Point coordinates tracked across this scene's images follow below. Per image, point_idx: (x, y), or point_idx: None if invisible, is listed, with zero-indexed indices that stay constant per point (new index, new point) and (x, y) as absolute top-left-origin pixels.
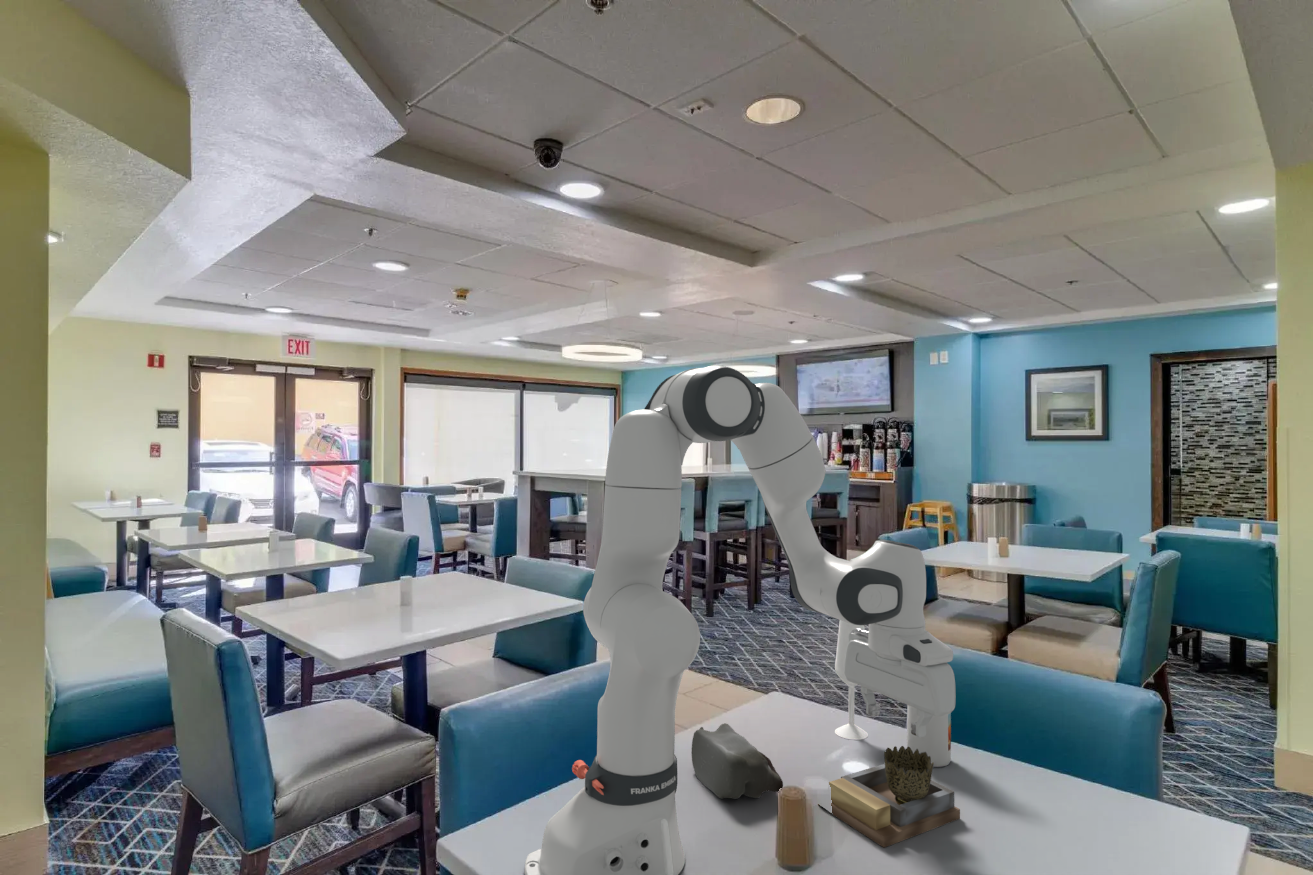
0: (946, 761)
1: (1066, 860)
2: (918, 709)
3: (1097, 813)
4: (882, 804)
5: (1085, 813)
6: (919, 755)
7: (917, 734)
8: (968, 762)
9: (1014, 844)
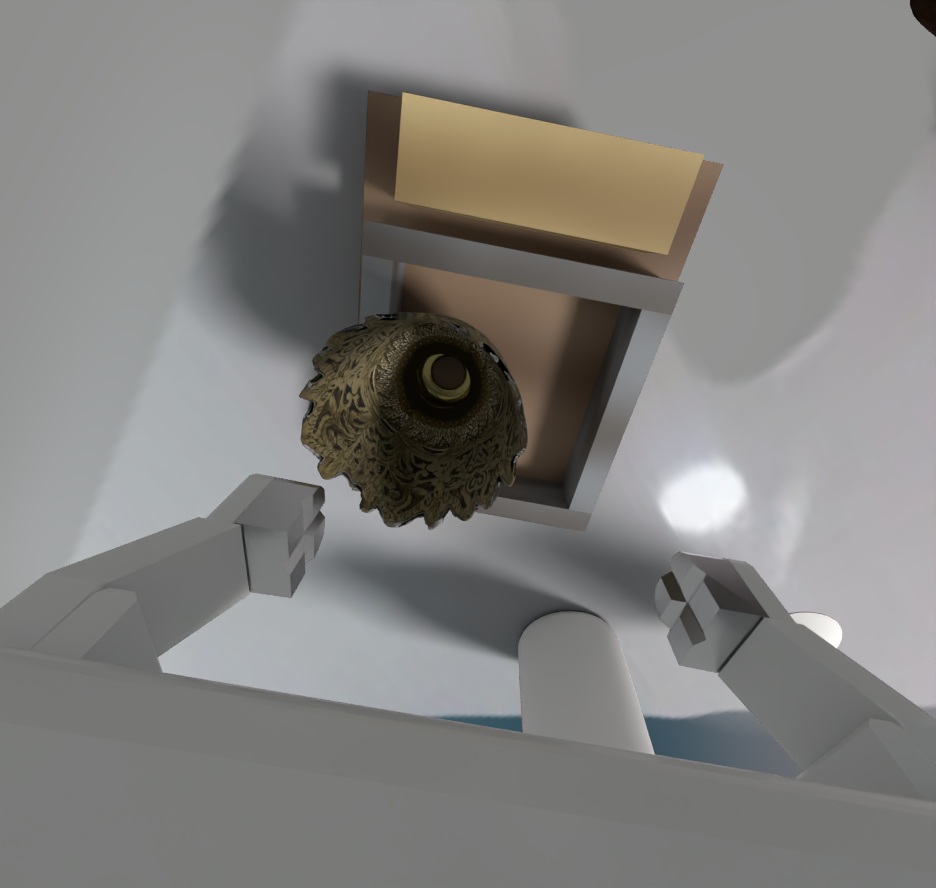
0: (519, 646)
1: (130, 461)
2: (55, 653)
3: (236, 647)
4: (417, 174)
5: (245, 635)
6: (421, 509)
7: (253, 477)
8: (496, 674)
9: (219, 441)
